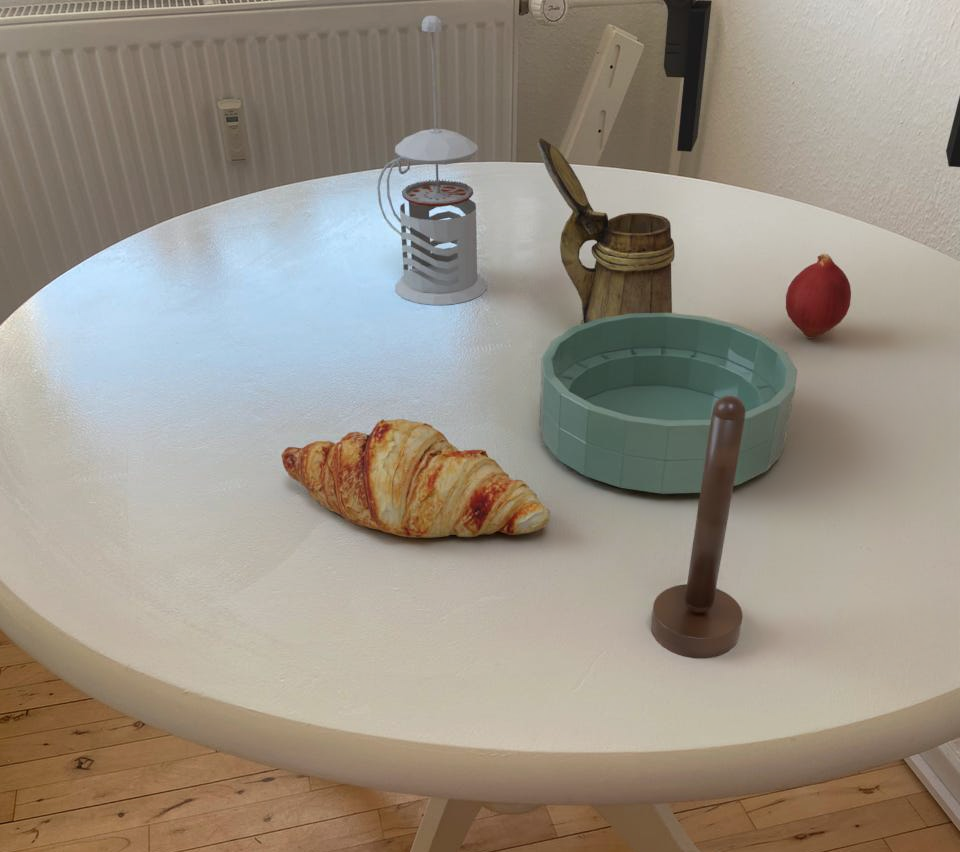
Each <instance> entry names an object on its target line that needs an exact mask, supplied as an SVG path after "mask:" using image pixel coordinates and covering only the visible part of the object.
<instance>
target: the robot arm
mask: <svg viewBox="0 0 960 852" xmlns="http://www.w3.org/2000/svg"><path fill="white" fill-rule="evenodd" d="M662 1H663V2H664V3H665V5H666V9H667V20H666V30H665V31H666V34H665V45H664V56H663V68H664V69H663V70H664V73H665V76H666V78H681V79H682V78H683V84H682V94H681V106H680V115H679V126H678V135H677V148H676V151H677V152H689V153H691V152H692V151H693V149H694V146H695V145H696V142H697V139H698V138H699V137H698V136H699V128H700V127H699V126H700V117H701V116H700V115H701V108H702V99H703V89H704V79H705V70H706V60H707V59H706V58H707V51H708V41H709V33H710V32H709V31H710V21H711V11H712V4H713V3H712V0H662ZM945 154H946V159H947V165H948V167H950V168H951V167H952V168H960V95H959V97H958V101H957V105H956V109H955V113H954V117H953V121H952V124H951V129H950V133H949V137H948V141H947V145H946V150H945Z"/></svg>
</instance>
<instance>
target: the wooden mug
mask: <svg viewBox="0 0 960 852" xmlns="http://www.w3.org/2000/svg"><path fill="white" fill-rule="evenodd" d="M537 148H538V150H539V153H540V156H541V159H542V161H543V164H544V167H545V170H546V171H547V173H548V175H549V177H550V179H551V181H552V182H553V184H554V186H555V187H556V189H557V190H558V192H559V193H560V195H561V197H562V198H563V200H564V201H565V204H567V206H568V207H569V208H570V209H571V210H572V213H571V215H570V216H569V217H568V219H567V221H565V224H564V226H563V229H562V231H561V234H560V243H559V252H560V258H561V263H562V265H563V267H564V270H565V271H566V274H567V275H568V278H569V279H570V281H571V283H572V285H573V286H574V288H575V290H576V292H577V294H578V296H579V298H580V301H581V309H582V310H581V311H582V319H581V320H580V323H579V325H582V324H585V323H587V322H590V321H593V320H596V319H600V318H606V317H612V316H619V315H625V314H631V313H673V297H672V296H673V295H672V290H673V289H672V288H673V287H672V263H673V262H674V260H675V252H676V251H675V242H674V239H673V238H672V228H671V227H672V226H671V222H670V219H668V218H667V217H665V216H662V215H660V214H659V215H658V214H653V213H648V212H628V213H623V214H619V215H616V216H613V217H611V218H609V215H608V214H607V213H606V212H602V211H595V210H594V208H593V207H592V206H591V204H590V202H589V198H588V196H587V194H586V191H585V189H584V188H583V186H582V183H581V182H580V180H579V178H578V176H577V175H576V173H575V171H574V170H573V167H572V166H571V165H570V163H569V162H568V161H567V159H566V158H565V156H564V155H563V154H562V152H561V151H560V150H559V149H558V148H557V147H555V146H554V145H553V144H552V143H550V142H548V141H547V140H545V139H544V138H542V137H540V138H539V139H538V141H537ZM589 241H595V242H596V243H594V244H592V246H591V255H592V256H593V258H594V259H595V263H594V266H593V267H587V266H585V265H583V263H582V260H581V259H580V250H581V248H582V247H583V245H584V244H585V243H586V242H589Z"/></svg>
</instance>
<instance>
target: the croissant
mask: <svg viewBox="0 0 960 852" xmlns="http://www.w3.org/2000/svg"><path fill="white" fill-rule="evenodd" d="M281 460H282V465H283V468H284V469H285V472H287V474H288V476H289V477H290V478H292V479H293V480H295V481H297V482H298V483H299V484H300V485H301V486H303V487H304V488H306V491H308V493H309V494H310V496H311V498H313V500H314V501H315V502H317V503H319V505H320V506H321V507H323V508H326V509H327V510H329V511H330V512H335V513H337V514H339V515H340V516H342V517H343V518H344V519H345V520H347V521H348V522H350V523H352V524H355V525H357V526H360V527H364V528H365V527H366V528H369V529H372V530H379V531H382V532H384V533H388V534H392V535H394V536H395V535H396V536H400V537H404V538H427V539H429V538H431V539H432V538H443V537H449V536H451V535H452V536H453V535H455V536H457V537H460V538H472V537H474V538H475V537H478V536H480V535H493V534H494V533H496V532H501V533H503V534H507V535H510V536H515V535H516V536H517V535H524V534H530V533H534V532H537V531H539V530H541V529H543V528H544V527H546V526H547V525H548V523H549V522H550V510H549V509H548V508H546V506H544V505H543V503H542V501H541V499H540V498H538V497H537V494H536V493H535V492H534V491H533V489H531V488H530V487H529V485H528V484H527V483H526V482H525V481H523V480H520V479H512V478H510V477H509V474H508V473H507V472H505V471H504V469H503V468H502V467H501V466H500V464H499V463H498V462H497V461H496V459H493V458H491V457H489V454H488V453H487V450H484V449H466V450H459V449H458V448H457V446H455V445H453V444H452V443H451V442H449V441H448V439H447V437H446V436H445V435H444V433H442V432H440V431H439V430H438V429H436V428H434V427H433V426H432V425H431V424H429V423H425V422H422V421H421V422H420V421H413V420H407V419H403V418H401V419H400V418H399V419H386V420H384V419H381V420H380V421H378V422H377V423H376V424H375V426H374V427H373V429H372V430H371V432H370V433H369V434H368V433H366V432H359V431H352V432H348V433H347V434H346V435H344V436H343V437H341V439H340V441H338V442H336V443H334V442H333V441H331V440H316V441H314V442H310V443H308V444H306V445H305V446H303V447H296V446H287V447H286V448H285V449H284V451H283V452H281Z"/></svg>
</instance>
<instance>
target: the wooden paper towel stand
mask: <svg viewBox="0 0 960 852" xmlns="http://www.w3.org/2000/svg"><path fill="white" fill-rule="evenodd" d="M745 415H746V409H745V406H744V403H743V402H742V401H741V400H740V399H739V398H737V397H735V396H725V397H722V398H720V399H719V400H718V401H717V402H716V403H715V405H714V407H713V410H712V416H711V423H710V430H709V437H708V444H707V451H706V457H705V464H704V471H703V478H702V485H701V492H700V493H699V499H698V506H697V513H696V520H695V527H694V533H693V538H692V540H693V541H692V546H691V555H690V559H689V560H690V561H689V566H688V568H689V569H688V574H687V581H686V583H685V584H684V583H683V584H679V585H674V586H671V587H668V588H666V589H665V590H663V591H662V592H660V593H659V594H658V596H657V597H656V598H655V599H654V602H653V604H652V613H651V620H650V630H651V633H652V635H653V637H654V639H655V640H656V641H657V643H659V644H660V645H661V646H662V647H663V648H665V649H667V650H668V651H671V652H672V653H675V654H677V655H680V656H683V657H688V658H694V659H695V658H696V659H704V658H705V659H706V658H713V657H718V656H720V655H723V654H726V653H727V652H729V651H730V650H732V649H733V648H734V647H735V645H736V644H737V642H738V641H739V637H740V634H741V633H740V632H741V627H742V622H743V611H742V608H741V606H740V604H739V603H738V601H737V600H736V599H735V598H734V597H733V596H731V595H730V594H728V593H727V592H725V591H724V590H721V589H720V588H717V586H718V579H719V573H720V567H721V562H722V556H723V549H724V545H725V544H724V543H725V539H726V532H727V528H728V527H727V526H728V521H729V514H730V509H731V503H732V497H733V491H734V480H735V474H736V468H737V462H738V456H739V450H740V444H741V438H742V432H743V426H744V421H745Z"/></svg>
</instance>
